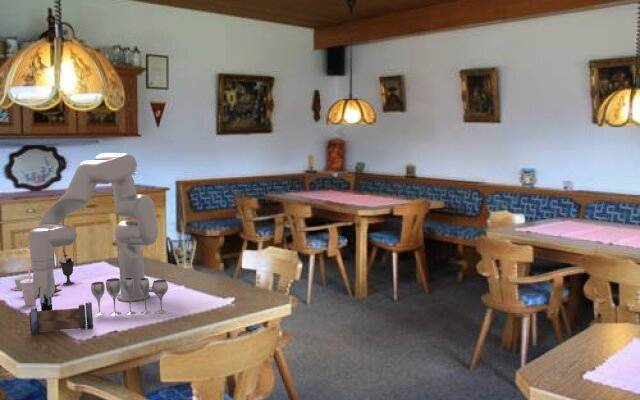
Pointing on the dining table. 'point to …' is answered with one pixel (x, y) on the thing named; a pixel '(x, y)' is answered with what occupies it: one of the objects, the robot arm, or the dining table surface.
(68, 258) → the sundae
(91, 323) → the grey upright cylinders
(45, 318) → the gate
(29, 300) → the smoothie
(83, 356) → the dining table surface
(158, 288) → the goblet set
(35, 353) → the dining table surface
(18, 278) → the teacup
